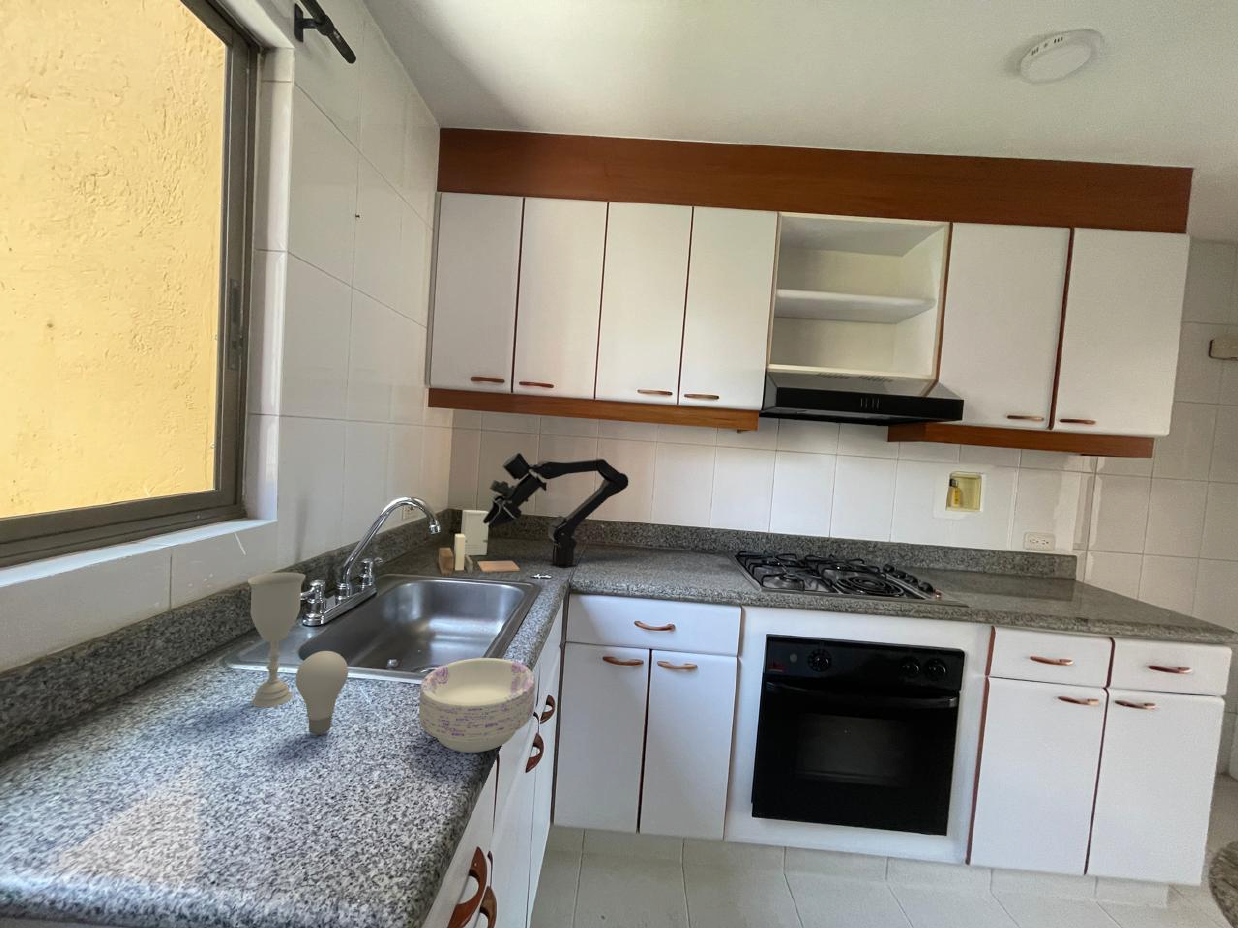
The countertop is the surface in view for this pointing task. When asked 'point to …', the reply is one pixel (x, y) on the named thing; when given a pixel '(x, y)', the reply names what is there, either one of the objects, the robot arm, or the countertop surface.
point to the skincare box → (475, 532)
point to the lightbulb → (321, 687)
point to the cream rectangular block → (459, 551)
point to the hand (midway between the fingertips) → (486, 524)
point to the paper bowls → (476, 703)
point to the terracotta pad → (498, 566)
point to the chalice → (274, 626)
